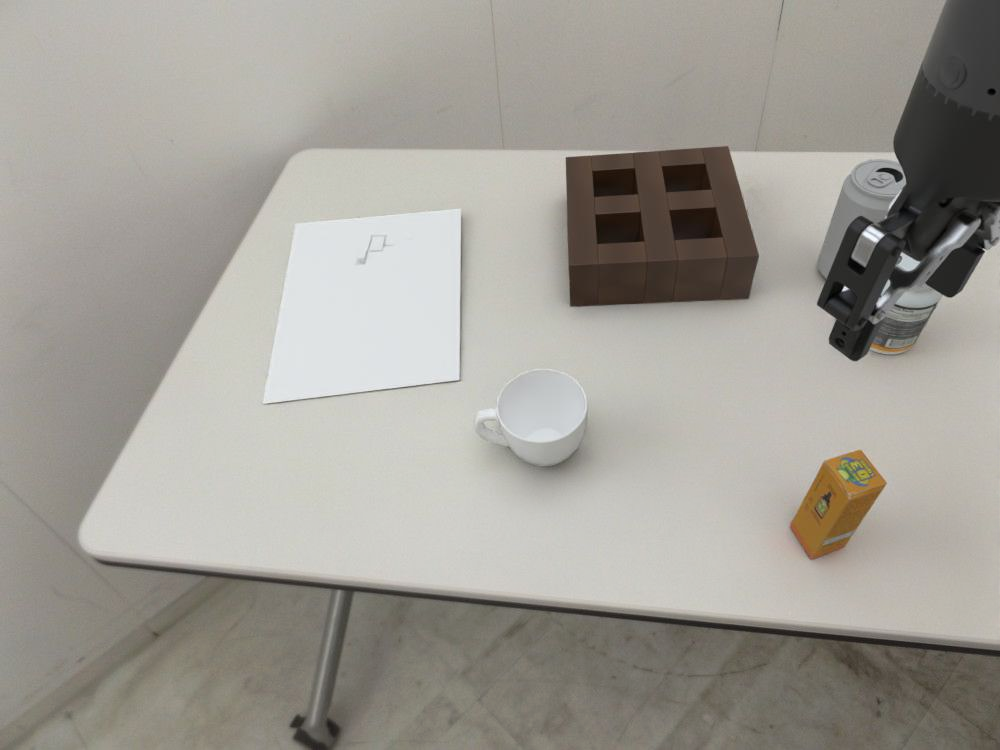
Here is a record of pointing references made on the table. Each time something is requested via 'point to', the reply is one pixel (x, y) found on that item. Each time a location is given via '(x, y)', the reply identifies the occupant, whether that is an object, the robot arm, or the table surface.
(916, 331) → the pill bottle
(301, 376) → the paper sheet
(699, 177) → the peg board
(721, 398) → the table surface
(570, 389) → the cup
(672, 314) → the table surface
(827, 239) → the beverage can
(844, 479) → the supplement box
